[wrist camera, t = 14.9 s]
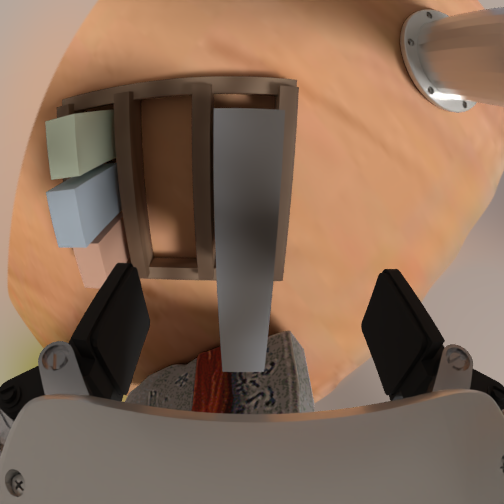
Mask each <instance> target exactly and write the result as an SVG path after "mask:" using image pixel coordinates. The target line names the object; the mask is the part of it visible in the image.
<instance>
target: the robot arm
mask: <svg viewBox="0 0 504 504" xmlns="http://www.w3.org/2000/svg"><path fill="white" fill-rule="evenodd" d="M400 45H401V52H402V56H403V60H404V63H405V66H406V68H407V71H408V73H409V75H410V77H411V79H412V80H413V82H414V84H415V85H416V87H417V88H418V89H419V91H420V92H421V93H422V94H423V95H424V96H425V97H426V98H427V100H428V101H430V102H431V103H432V104H434V105H435V106H437V107H439V108H441V109H443V110H446V111H450V112H457V113H459V112H465V111H467V110H469V109H471V108H472V107H473V106H474V105H475V104H476V103H477V102H478V103H484V104H490V105H495V106H500V107H504V7H501V8H493V9H486V10H479V11H474V12H468V13H463V14H459V15H454V16H450V17H449V16H448V15H446V14H444V13H442V12H440V11H436V10H432V9H424V10H421V11H417V12H415V13H413V14H411V15H410V16H409V17H408V18H407V19H406V20H405V22H404V24H403V26H402V30H401V36H400ZM149 326H150V319H149V315H148V311H147V307H146V303H145V299H144V295H143V291H142V287H141V283H140V278H139V274H138V270H137V268H136V267H133V265H132V264H131V263H117V264H116V265H115V267H114V268H113V270H112V271H111V273H110V274H109V276H108V277H107V279H106V280H105V282H104V283H103V285H102V286H101V288H100V290H99V291H98V293H97V294H96V296H95V298H94V299H93V301H92V302H91V304H90V306H89V307H88V309H87V311H86V312H85V314H84V316H83V318H82V319H81V321H80V323H79V325H78V326H77V328H76V330H75V332H74V333H73V335H72V337H71V340H70V341H69V343H66V342H63V341H57V342H53V343H51V344H49V345H47V346H46V347H45V348H44V349H43V350H42V352H41V353H40V356H39V359H38V364H39V366H37V367H35V368H33V369H31V370H29V371H26V372H24V373H22V374H20V375H18V376H16V377H14V378H12V379H10V380H8V381H7V382H5V383H3V384H2V386H1V387H0V504H504V387H503V385H501V384H500V383H499V382H497V381H495V380H493V379H491V378H490V377H488V376H486V375H484V374H482V373H480V372H478V371H476V370H474V369H473V361H472V357H471V356H470V354H469V353H468V351H466V350H465V349H464V348H462V347H461V346H458V345H455V344H451V345H448V346H446V347H445V348H444V346H443V342H444V341H445V340H444V338H443V337H442V335H441V333H440V332H439V330H438V328H437V327H436V325H435V323H434V322H433V320H432V319H431V317H430V315H429V314H428V313H427V311H426V309H425V308H424V306H423V305H422V303H421V302H420V300H419V299H418V297H417V296H416V294H415V293H414V291H413V290H412V288H411V287H410V285H409V284H408V282H407V281H406V280H405V278H404V277H403V275H402V274H401V272H400V271H399V270H398V269H385V270H384V271H383V272H382V273H380V274H379V276H378V279H377V282H376V285H375V288H374V291H373V293H372V296H371V299H370V302H369V305H368V307H367V310H366V313H365V315H364V318H363V321H362V325H361V327H362V332H363V334H364V337H365V339H366V342H367V345H368V347H369V350H370V352H371V355H372V358H373V360H374V363H375V366H376V369H377V371H378V374H379V377H380V380H381V383H382V386H383V388H384V391H385V393H386V395H389V397H390V400H391V401H389V402H384V403H379V404H372V405H366V406H360V407H353V408H346V409H338V410H329V411H318V412H306V413H289V414H223V413H206V412H193V411H183V410H174V409H166V408H159V407H152V406H145V405H138V404H132V403H127V402H121V401H122V398H123V395H127V393H128V391H129V387H130V384H131V381H132V378H133V374H134V371H135V368H136V365H137V362H138V359H139V356H140V353H141V350H142V347H143V344H144V341H145V338H146V335H147V332H148V330H149Z"/></svg>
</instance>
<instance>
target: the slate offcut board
mask: <svg viewBox="0 0 504 504" xmlns="http://www.w3.org/2000/svg"><path fill="white" fill-rule="evenodd" d="M46 195H47V200H48V205H49V210H50V214H51V219H52V223H53V227H54V231H55V235H56V239H57V243H58V246H59V247H74V248H87V246H88V245H89V244H90V243H91V242H92V241H93V240H94V239H95V238H96V237H97V235H98V234H99V233H100V232H101V231H102V230H103V229H104V228H105V227H106V226H107V225H108V224H109V223H110V222H111V221H112V220H113V219H114V218H115V216H116V215H117V214H118V213H119V212H120V211H121V210H122V206H121V198H120V190H119V182H118V172H117V163H107V164H101V165H99V166H98V167H96V168H94V169H92V170H90V171H88V172H86V173H84V174H82V175H81V176H76V177H72V178H70V179H68V180H66V181H64V182H63V183H61V184H59V185H57V186H56V187H54V188H52V189H51V190H49V191H47V192H46Z"/></svg>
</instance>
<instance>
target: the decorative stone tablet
mask: <svg viewBox="0 0 504 504" xmlns="http://www.w3.org/2000/svg"><path fill="white" fill-rule="evenodd" d="M125 402H127V403H132V404H138V405H145V406H152V407H159V408H166V409H174V410H183V411H193V412H206V413H223V414H289V413H306V412H314V400H313V394H312V389H311V384H310V378H309V373H308V368H307V363H306V358H305V353H304V349H303V348H302V346H301V345H300V344H299V342H298V341H297V340H296V338H295V337H294V336H293V334H292V333H291V331H282V332H279V333H276V334H273V335H270V336H268V341H267V350H266V360H265V369H264V372H223V371H222V358H221V346H220V347H217V348H215V349H212V350H209V351H206V352H203V353H200V354H199V355H198V357H197V358H196V359H194V360H193V361H191V362H190V363H188V364H187V365H185V364H174V365H171V366H169V367H166V368H164V369H162V370H160V371H158V372H156V373H153V374H151V375H149V376H148V377H147V378H146V379H145V380H144V381H143V382H142V383H141V384H140V385H139V386H137V387H136V388H135V389H134V390H133V391H131V392H130V393H129V395H128V397H127V399H126V401H125Z"/></svg>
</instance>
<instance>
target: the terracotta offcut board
mask: <svg viewBox="0 0 504 504" xmlns="http://www.w3.org/2000/svg"><path fill="white" fill-rule="evenodd" d="M73 251H74V254H75V258H76V261H77V264H78V268H79V271H80V274H81V277H82V280H83V283H84V286H85V287H86V288H101V286H102V285H103V283H104V282H105V280H106V279H107V277H108V276H109V274H110V273H111V271H112V270H113V268H114V267H115V265H116V264H117V263H126V262H127V261H128V259H129V258H130V253H129V248H128V243H127V237H126V231H125V225H124V219H123V213H118V214H117V215H116V216H115V218H114V219H113V220H112V221H111V222H110V223H109V224H108V225H107V226H106V227H105V228H104V229H103V230H102V231H101V232H100V233H99V234H98V235H97V237H96V238H95V239H94V240H93V241H92V242H91V243H90V244H89V245H88V246H87V248H74V247H73Z"/></svg>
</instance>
